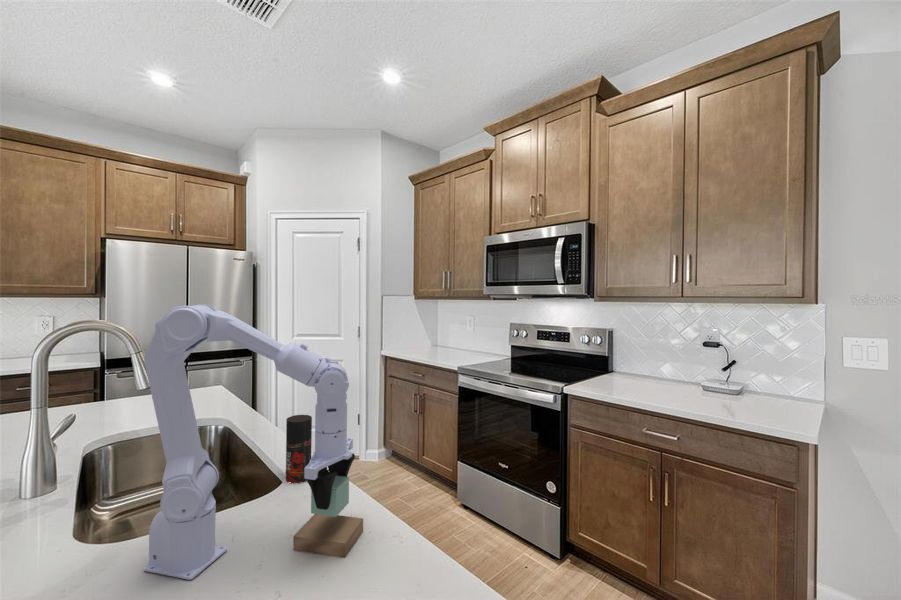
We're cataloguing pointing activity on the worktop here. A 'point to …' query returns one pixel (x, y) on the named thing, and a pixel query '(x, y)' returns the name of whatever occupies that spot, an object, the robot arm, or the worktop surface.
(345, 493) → the sage cube
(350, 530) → the walnut block
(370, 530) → the worktop surface
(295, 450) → the deodorant
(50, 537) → the worktop surface
